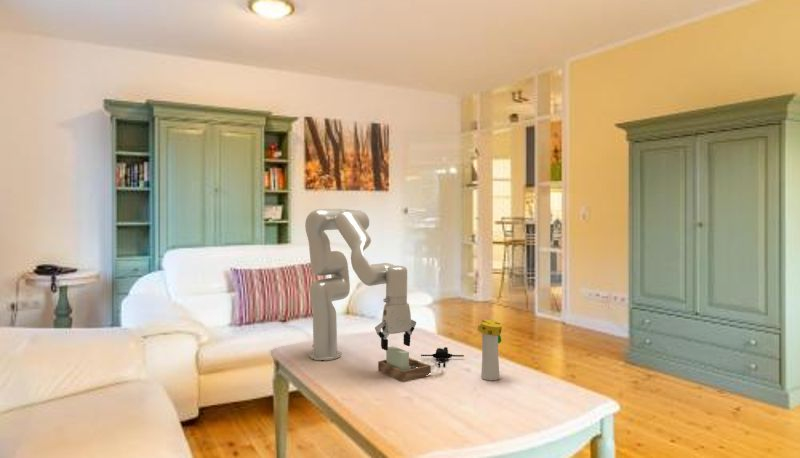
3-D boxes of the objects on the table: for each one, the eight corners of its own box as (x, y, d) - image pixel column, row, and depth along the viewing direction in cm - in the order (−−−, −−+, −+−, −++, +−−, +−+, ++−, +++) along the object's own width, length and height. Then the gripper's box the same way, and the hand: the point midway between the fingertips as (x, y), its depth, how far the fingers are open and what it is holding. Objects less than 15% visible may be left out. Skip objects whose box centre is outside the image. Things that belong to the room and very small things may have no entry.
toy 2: (505, 375, 185) (505, 319, 184) (499, 383, 177) (498, 324, 176) (483, 372, 188) (482, 317, 187) (476, 380, 180) (475, 322, 179)
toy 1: (464, 370, 195) (463, 356, 210) (464, 358, 194) (463, 345, 209) (419, 369, 196) (421, 355, 211) (418, 358, 196) (421, 344, 211)
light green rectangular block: (386, 369, 191) (386, 347, 191) (394, 367, 193) (393, 346, 193) (402, 376, 183) (401, 353, 182) (410, 374, 185) (409, 351, 184)
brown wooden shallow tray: (378, 370, 192) (378, 361, 192) (404, 364, 199) (404, 355, 199) (403, 382, 179) (403, 372, 179) (430, 375, 186) (430, 365, 186)
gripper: (381, 304, 179) (381, 353, 180) (421, 299, 189) (421, 346, 190) (370, 301, 185) (369, 348, 186) (409, 296, 195) (409, 341, 196)
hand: (395, 347), depth 188 cm, fingers open, 9 cm apart
